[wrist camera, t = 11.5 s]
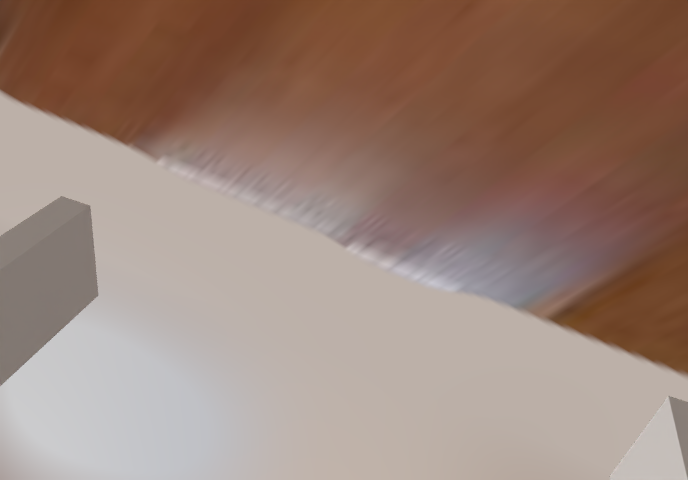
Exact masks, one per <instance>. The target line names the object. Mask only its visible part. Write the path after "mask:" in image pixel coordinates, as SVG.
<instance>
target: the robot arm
mask: <svg viewBox="0 0 688 480" xmlns="http://www.w3.org/2000/svg"><path fill="white" fill-rule="evenodd" d="M96 276H97V275H96V265H95V254H94V244H93V232H92V220H91V209H90V206H89V205H86V204H83V203H80V202H77V201H74V200H71V199H68V198H65V197H62V196H61V197H60V198H58V199H57V200H55V201H53V202H52V203H50V204H49V205H47V206H46V207H44V208H43V209H41V210H40V211H38V212H37V213H35V214H34V215H32V216H30V217H29V218H28V219H26V220H24V221H23V222H21V223H20V224H18V225H17V226H15V227H14V228H12V229H11V230H9V231H7V232H6V233H4V234H3V235H1V236H0V386H1V385H2V384H3V383H4V382H5V381H6V380H7V379H8V378H9V377H11V376H12V375H13V374H14V373H15V372H16V371H17V370H18V369H19V368H20V367H21V366H22V365H24V364H25V363H26V362H27V361H28V360H29V359H30V358H31V357H32V356H33V355H34V354H35V353H37V352H38V351H39V350H40V349H41V348H42V347H43V346H44V345H45V344H46V343H47V342H48V341H50V340H51V339H52V338H53V337H54V336H55V335H56V334H57V333H58V332H59V331H60V330H61V329H62V328H64V327H65V326H66V325H67V324H68V323H69V322H70V321H71V320H72V319H73V318H74V317H75V316H76V315H78V314H79V313H80V312H81V311H82V310H83V309H84V308H85V307H86V306H87V305H88V304H90V303H91V301H93V300H94V299H95V298H96V297H97V296H98V287H97V277H96ZM610 480H688V402H685V401H682V400H679V399H676V398H673V397H670V396H668V397H667V398H666V400H665V401H664V403H663V404H662V405H661V407H660V408H659V409H658V411H657V412H656V413H655V415H654V416H653V418H652V419H651V420H650V422H649V423H648V425H647V426H646V427H645V429H644V430H643V431H642V433H641V434H640V435H639V437H638V438H637V440H636V441H635V442H634V444H633V445H632V446H631V448H630V449H629V451H628V452H627V453H626V455H625V456H624V457H623V459H622V460H621V461H620V463H619V464H618V466H617V467H616V468H615V470H614V471H613V472H612V474H611V475H610Z"/></svg>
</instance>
